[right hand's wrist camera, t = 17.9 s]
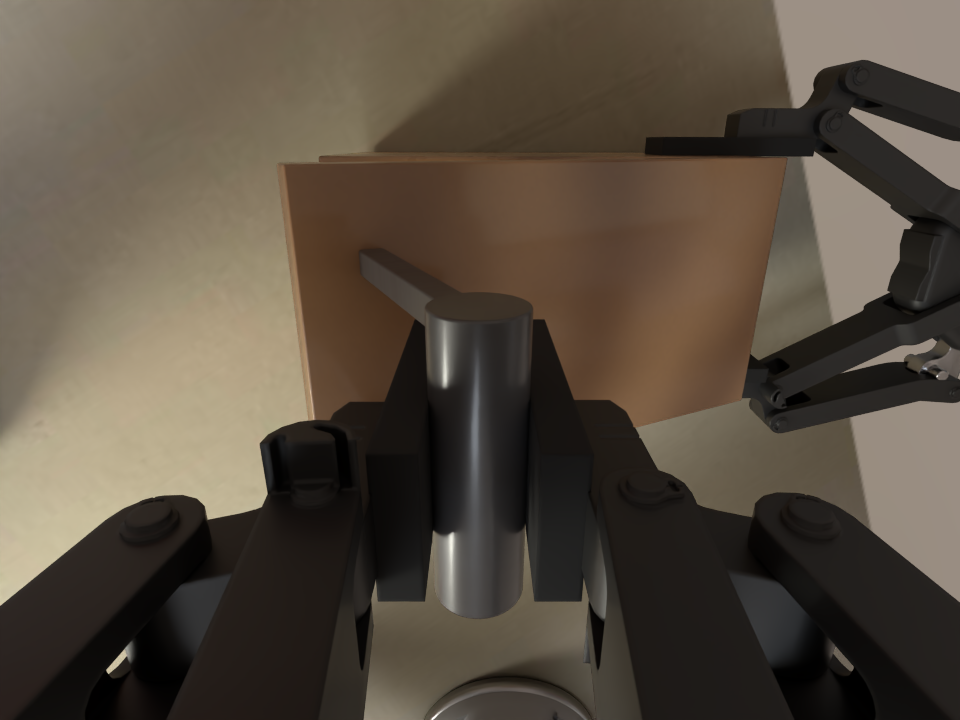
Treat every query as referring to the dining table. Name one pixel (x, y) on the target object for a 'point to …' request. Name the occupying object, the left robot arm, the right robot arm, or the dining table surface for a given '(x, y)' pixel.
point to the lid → (523, 310)
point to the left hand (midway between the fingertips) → (640, 263)
